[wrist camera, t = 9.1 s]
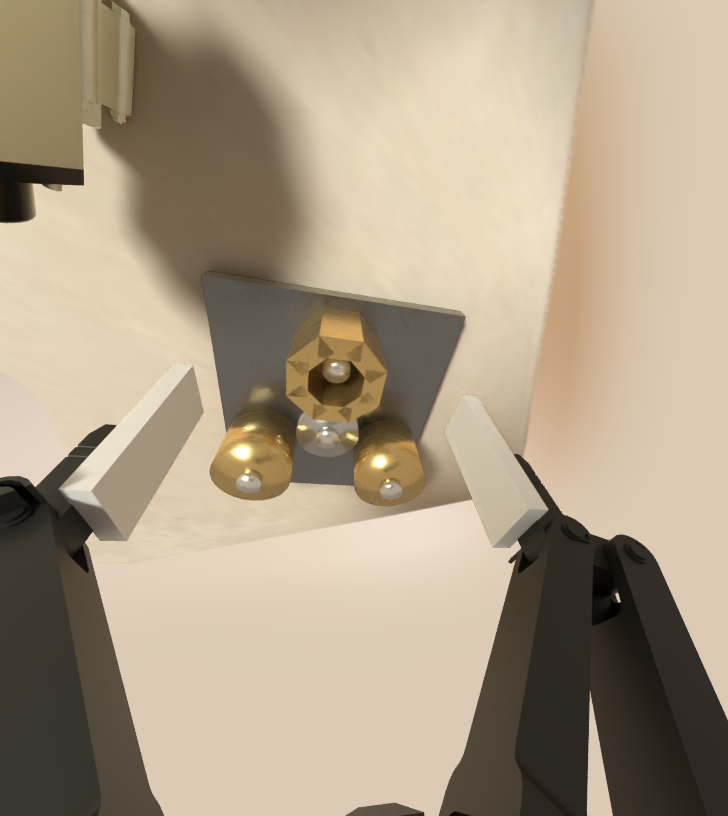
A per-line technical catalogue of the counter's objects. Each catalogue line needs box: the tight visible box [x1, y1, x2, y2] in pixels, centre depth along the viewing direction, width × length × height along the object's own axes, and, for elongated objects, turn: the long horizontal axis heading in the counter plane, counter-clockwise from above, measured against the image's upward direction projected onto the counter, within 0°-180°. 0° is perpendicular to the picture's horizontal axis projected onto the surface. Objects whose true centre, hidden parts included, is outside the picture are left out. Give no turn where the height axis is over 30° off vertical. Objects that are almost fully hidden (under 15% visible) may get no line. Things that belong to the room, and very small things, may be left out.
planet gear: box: [286, 307, 387, 423], centre depth 19 cm, size 6×6×5 cm
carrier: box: [201, 271, 466, 506], centre depth 23 cm, size 20×18×7 cm
